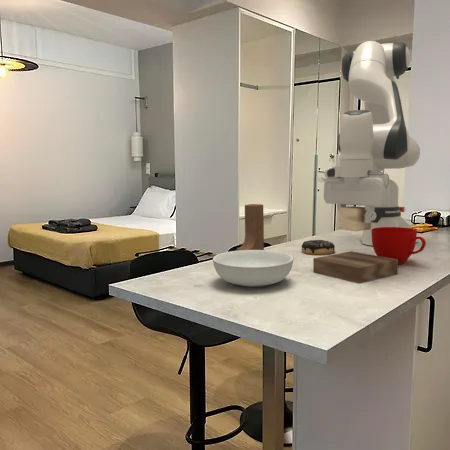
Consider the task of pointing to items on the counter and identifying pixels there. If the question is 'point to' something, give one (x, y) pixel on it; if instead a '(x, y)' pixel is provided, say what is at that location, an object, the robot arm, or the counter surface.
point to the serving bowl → (253, 267)
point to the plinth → (355, 266)
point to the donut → (318, 247)
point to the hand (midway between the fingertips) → (355, 221)
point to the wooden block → (253, 228)
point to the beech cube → (353, 219)
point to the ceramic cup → (395, 242)
